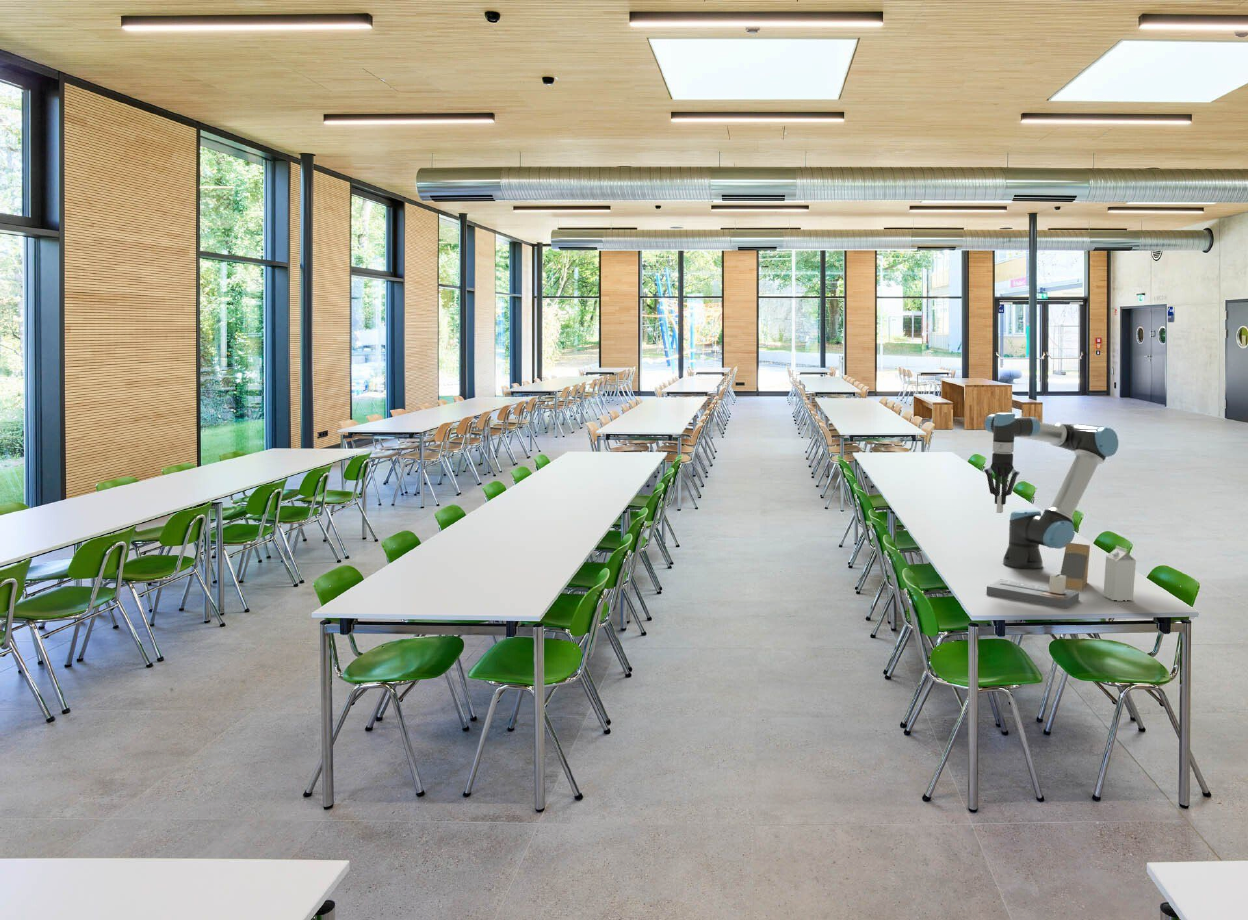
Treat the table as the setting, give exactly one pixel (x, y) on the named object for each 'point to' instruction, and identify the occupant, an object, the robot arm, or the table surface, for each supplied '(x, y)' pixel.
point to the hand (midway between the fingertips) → (999, 512)
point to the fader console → (1032, 593)
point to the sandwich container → (1075, 565)
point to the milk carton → (1119, 575)
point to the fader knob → (1057, 583)
